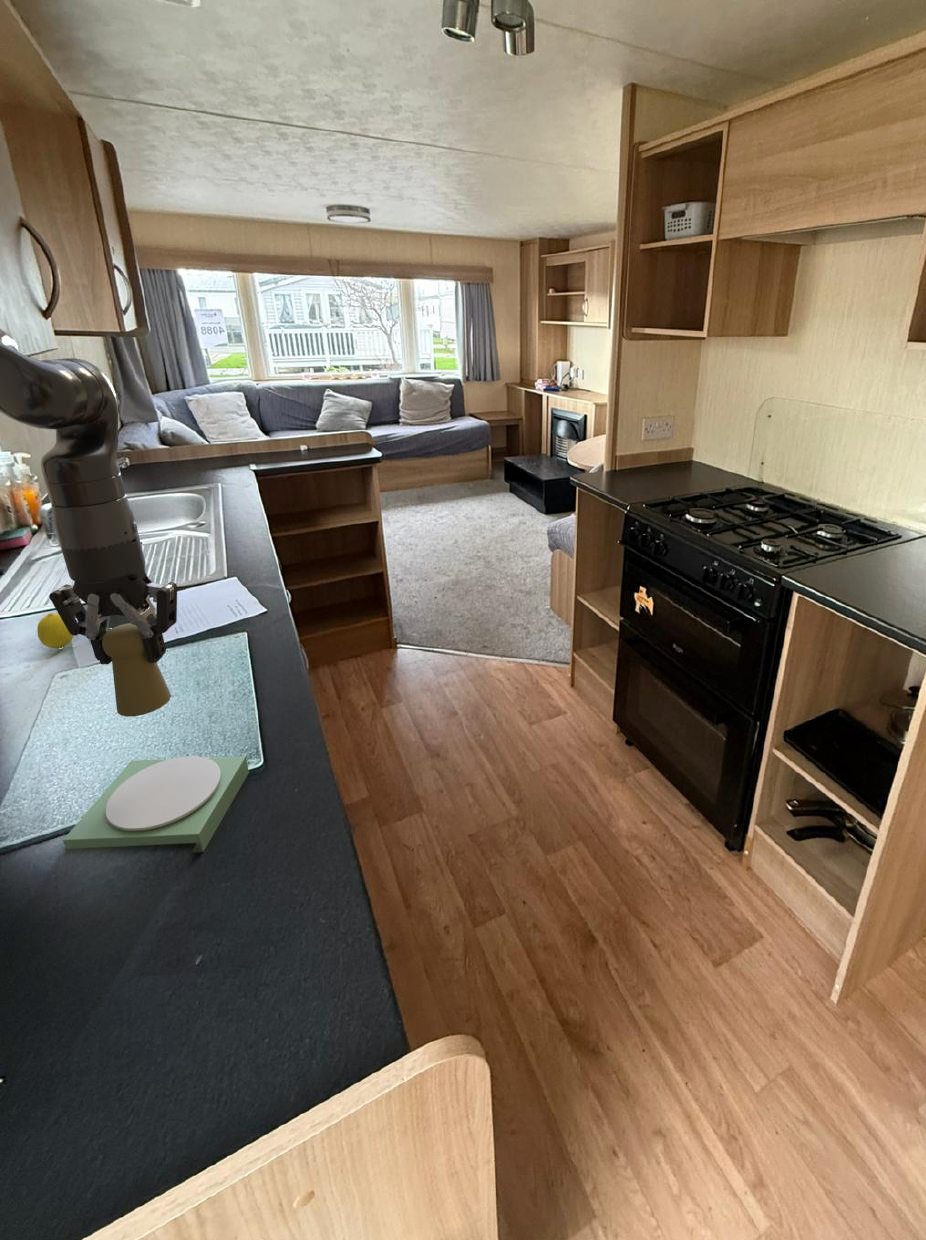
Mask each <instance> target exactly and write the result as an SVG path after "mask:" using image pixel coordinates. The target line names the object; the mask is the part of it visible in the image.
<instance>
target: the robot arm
mask: <svg viewBox="0 0 926 1240" xmlns="http://www.w3.org/2000/svg"><path fill="white" fill-rule="evenodd" d="M118 405H119V404H118V398H117V395H116V391H115V389H114V387H113V385H112V383H111V382H110V379H109V378H108V376H106V374H105V373H104V372H103V371H102V369H101V368H100V367H98V366H97V365H95V364H93V363H91V362H90V361H88V360H85V359H80V358H74V357H71V358H70V357H69V358H68V357H66V358H56V359H42V360H40V359H37V358H34V357H30V356H28V355H27V354H24V353H21V352H20V350H19V347H18V343H17V342H16V341H15V339H14V338H13V337H12V336H11V335H10V334H9V333H7V332H6V331H5V330H3V329H2V328H0V413H1V414H3V415H4V416H6V417H8V418H10V419H11V420H13V421H16V422H17V423H21V424H23V425H25V426H29V427H32V428H36V429H39V430H40V429H42V430H55V443H54V445H53V447H52V448H51V449H49V450H48V451H47V452H45V454H44V455H43V456H42V457H41V459H40V470H41V475H42V478H43V482H44V485H45V489H46V493H47V496H48V498H49V499H48V500H49V502H50V506H51V511H52V519H53V525H54V529H55V532H56V536H57V539H58V543H59V546H60V549H61V553H62V557H63V559H64V564H65V566H66V570H67V573H68V577H69V578H70V579H71V580H72V581H73V585H71V584H69V583H68V584H64V585H62V586H61V587H59V588H57V589H56V590H53V591H52V592H50V593H49V596H48V597H49V600H50V601H51V603H52V605H53V606H54V608H55V610H56V613H57V614H59V615H60V617H61V619H62V621H63V622H64V624H65V626H66V628H67V629H68V631H69V633H70V634H71V635H74V636H75V637H76V636H79V635H80V636H84V637H85V638H86V639H88V640H89V641H90V645H91V648H92V651H93V655H94V658H95V659H96V660H97V661H99V663H100V665H101V666H102V665H110V664H112V657H110V656H108V655H107V654H106V653H105V652H104V649H103V646H102V639H103V637H104V635H105V634H106V633H107V632H108V631H109V630H108V629H109V628H108V625H109V620H110V616H112V615H120V616H126V618H127V619H128V621H129V622H130V623H131V624H133V625H136V626H137V628H138V629H139V630H140V632H141V633H142V634H143V636H144V638H143V643H144V647H145V651H146V655H147V658H148V662H149V663H157V664H158V662H159V661H160V660H161V659H162V658H163V657H164V655H165V654H166V652H167V646H166V643H165V639H164V634H165V633H167V632H168V630H169V629H170V628H171V627H173V626H174V625H175V624H177V621H178V585H177V583H175V582H173V581H169V582H168V583H167V584H162V583H158V582H157V583H155V582H153V581H152V579H151V578H150V576H148V574H147V572H146V559H145V554H144V550H143V546H142V543H141V539H140V535H139V531H138V525H137V522H136V519H135V514H134V512H133V508H132V506H131V503H130V502H129V499H128V496H127V493H126V488H125V486H124V485H125V484H124V481H123V477H122V473H121V469H120V466H119V462H118V448H119V406H118ZM148 595H151V597H152V601H150V600H151V599H150V600H149V599H148V597H147V596H148ZM82 602H83V603H84V604H86V605H87V607H86V608H85V607H84V605H83V603H82ZM152 602H153V603H156V604H155V605H156V607H155V606H154V604H153V603H152ZM139 608H141V611H140V612H139V613H138V612H137V610H138V609H139ZM107 630H108V631H107ZM74 636H73V637H74Z"/></svg>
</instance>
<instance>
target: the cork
mask: <svg viewBox="0 0 926 1240" xmlns="http://www.w3.org/2000/svg"><path fill="white" fill-rule="evenodd" d="M143 638H144V636H143V634H142V633H141V632H140V630H139V629H138V628H137V626H136V625H133V624H131V623H129V624H124V625H120V626H117V627H115V628H113V629H111V630H110V629H109V630H108V632H107V633H106V634H105V635H104V637H103V639H102V646H103V649H104V652H105V653H106V654H107V655H108V656H110V657H112V662H111V666H112V676H113V686H114V695H115V705H116V706H115V707H116V712H117V714H118V715H120V716H121V717H125V718H126V717H128V718H129V717H139V716H144V715H148V714H150V713H153V712H155V711H158V710H159V709H162V707H164V706H165V705H167V704H168V703H169V701H170V700H171V698H172V694H171V692H170V689H169V687H168V685H167V683H166V680H165V678H164V676H163V674H162V671H161V669H160V667H159V665H158V662H157V663H149V662H148V658H147V655H146V651H145V647H144V643H143Z"/></svg>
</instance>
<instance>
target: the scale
mask: <svg viewBox="0 0 926 1240" xmlns="http://www.w3.org/2000/svg"><path fill="white" fill-rule="evenodd" d="M248 765H249V764H248V759H247V756H246V755H243V756H241V755H240V756H218V757H217V756H216V757H215V756H214V757H213V756H212V757H205V756H199V755H186V756H178V757H172V758H166V759H165V758H163V759H162V758H161V759H160V758H159V759H139V760H138V759H137V760H130V761H129V762H128V764H127V765H126V766H125V768H123V770H122V771H121V772H120V773H119V774H118V775H117V776H116V778H114V780H113V781H112V782H111V783H110V785H109V786H108V787H107V788H106V789H105V791H104V792H102V794H101V795H100V796H99V797H98V798H97V800H96V801H95V802H94V803H93V804H92V805H91V807H90V808H89V809H88V810H87V812H86V813H85V814H83V816H82V817H81V818H80V820H79V821H78V822H77V823H76V824H75V825H74V826H73V827H72V829H71V830H70V831H69V832H68V833H67V834H66V836H65V837H64V838H63V839H62V842H63V844H64V847H65V850H66V849H67V850H72V849H95V848H113V847H136V846H157V845H180V844H181V845H183V844H195V845H194V847H193V848H192V850H191V852H190V853H191V854H195V853H204V852H205V850H206V848H207V847H208V845H209V844H210V841H211V840H212V838H213V836H214V834H215V833H216V832H217V830H218V828H219V826H220V825H221V822H222V821H223V819H224V817H225V815H226V814H227V812H228V810H229V809H230V807H231V805H232V803H233V802H234V800H235V799H236V796H237V795H238V793H239V791H240V789H241V788H242V786H243V784H244V782H245V781H246V779H247V777H248V775H249V774H250V770H249V766H248Z"/></svg>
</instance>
